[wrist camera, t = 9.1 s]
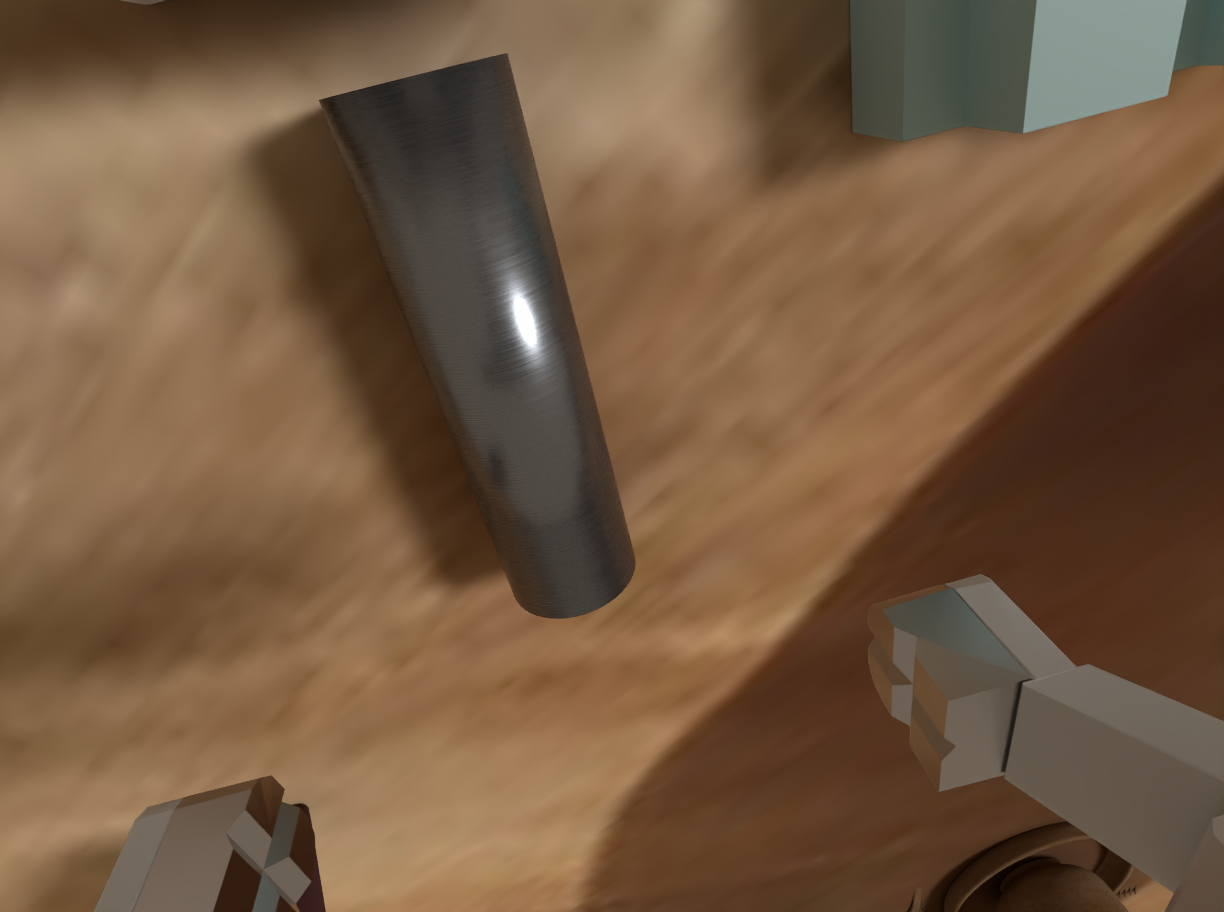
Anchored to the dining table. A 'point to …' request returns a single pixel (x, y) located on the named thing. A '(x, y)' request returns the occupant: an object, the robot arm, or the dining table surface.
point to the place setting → (1042, 877)
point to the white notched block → (145, 1)
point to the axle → (491, 321)
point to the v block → (1018, 60)
